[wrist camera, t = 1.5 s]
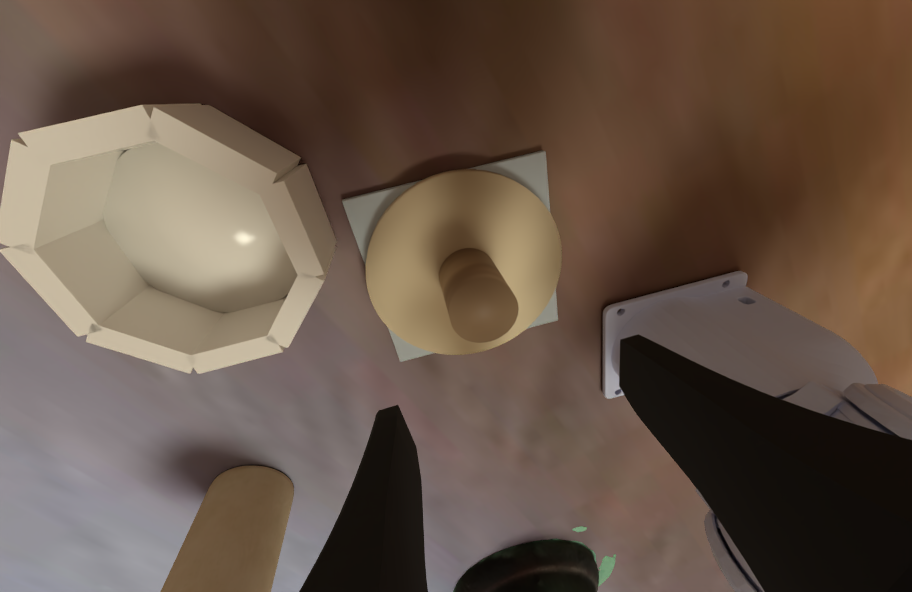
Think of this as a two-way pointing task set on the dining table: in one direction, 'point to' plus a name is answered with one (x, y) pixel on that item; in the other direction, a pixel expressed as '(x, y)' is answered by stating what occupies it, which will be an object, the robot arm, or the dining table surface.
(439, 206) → the lid
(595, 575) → the black rounded piece
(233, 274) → the bowl
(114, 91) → the dining table surface
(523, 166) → the mat
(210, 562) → the candle
